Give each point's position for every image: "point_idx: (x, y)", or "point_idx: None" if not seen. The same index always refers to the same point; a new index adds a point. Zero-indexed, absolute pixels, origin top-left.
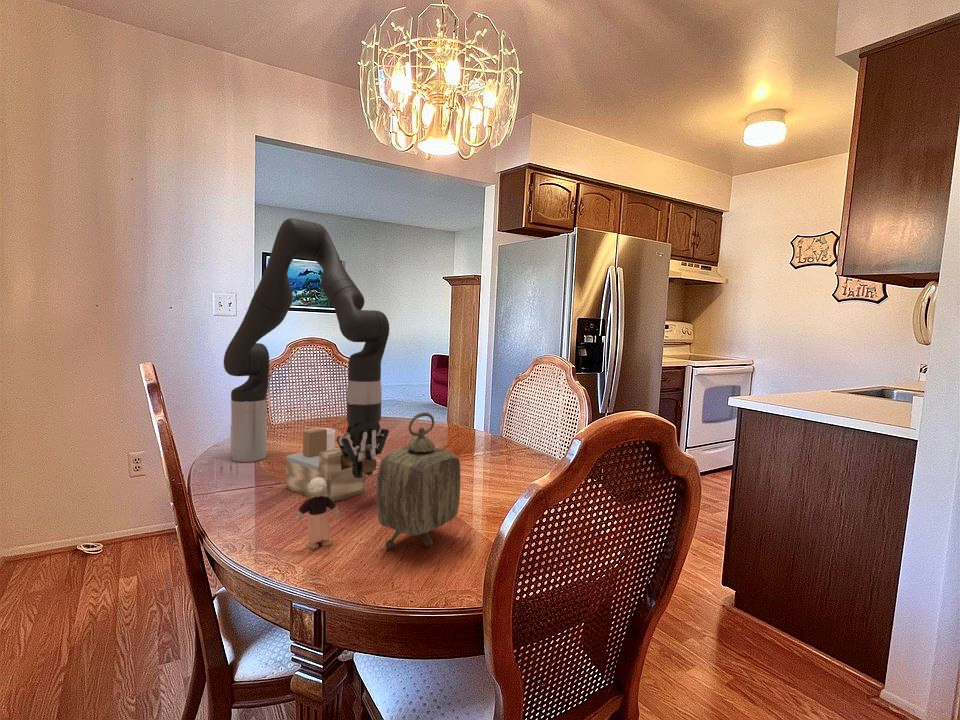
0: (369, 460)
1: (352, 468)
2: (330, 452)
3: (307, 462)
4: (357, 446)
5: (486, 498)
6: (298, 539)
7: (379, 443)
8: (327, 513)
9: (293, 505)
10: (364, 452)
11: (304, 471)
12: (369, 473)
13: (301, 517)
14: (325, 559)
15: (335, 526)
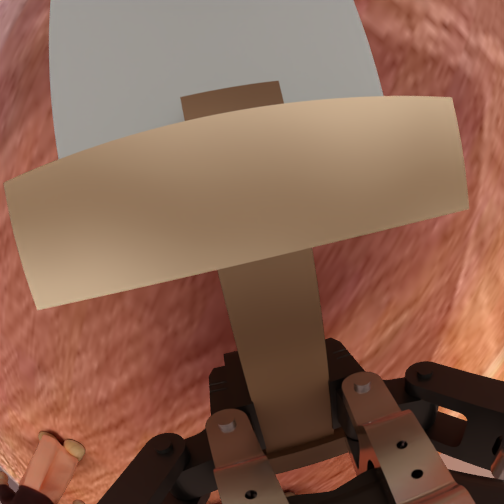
0: (309, 454)
1: (210, 395)
2: (79, 249)
3: (56, 49)
4: (418, 183)
5: None
6: (24, 405)
7: (454, 449)
8: (59, 499)
9: None
10: (347, 405)
11: None
12: None
13: (7, 480)
14: (69, 483)
15: (107, 403)
